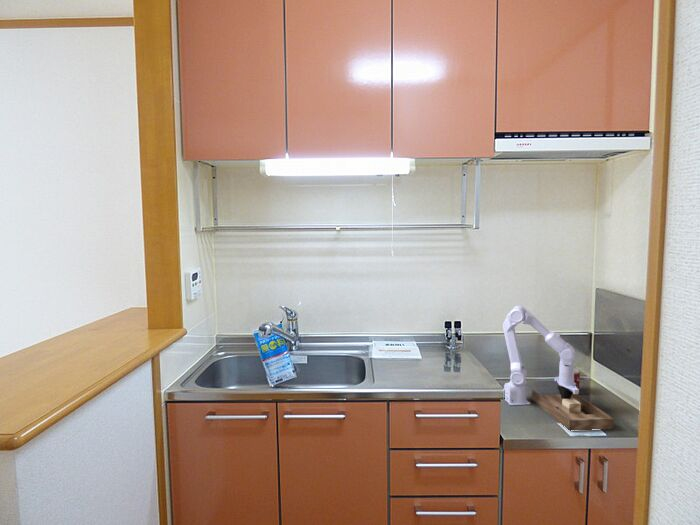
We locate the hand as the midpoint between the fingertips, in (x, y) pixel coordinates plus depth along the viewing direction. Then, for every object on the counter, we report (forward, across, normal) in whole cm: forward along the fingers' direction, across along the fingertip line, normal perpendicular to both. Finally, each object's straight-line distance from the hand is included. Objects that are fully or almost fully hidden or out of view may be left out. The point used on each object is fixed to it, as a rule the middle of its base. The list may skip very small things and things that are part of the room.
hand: (565, 403), depth 175 cm
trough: (+3, -2, 0) cm, 4 cm away
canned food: (+3, +19, -14) cm, 24 cm away
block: (+1, -4, 0) cm, 4 cm away
